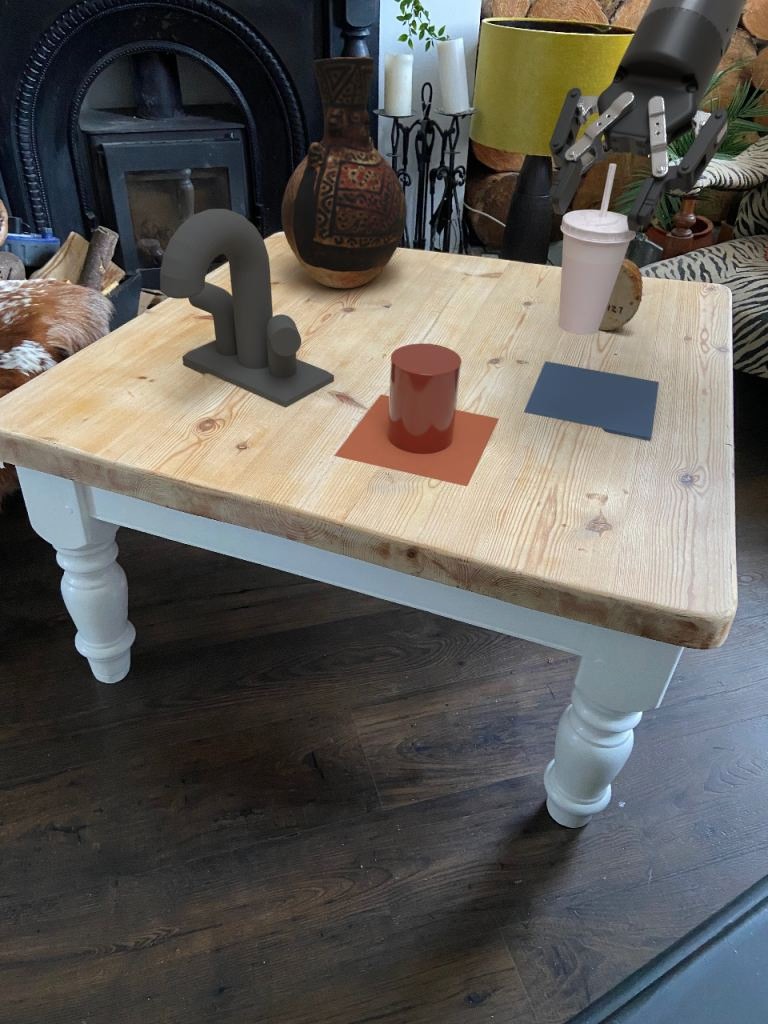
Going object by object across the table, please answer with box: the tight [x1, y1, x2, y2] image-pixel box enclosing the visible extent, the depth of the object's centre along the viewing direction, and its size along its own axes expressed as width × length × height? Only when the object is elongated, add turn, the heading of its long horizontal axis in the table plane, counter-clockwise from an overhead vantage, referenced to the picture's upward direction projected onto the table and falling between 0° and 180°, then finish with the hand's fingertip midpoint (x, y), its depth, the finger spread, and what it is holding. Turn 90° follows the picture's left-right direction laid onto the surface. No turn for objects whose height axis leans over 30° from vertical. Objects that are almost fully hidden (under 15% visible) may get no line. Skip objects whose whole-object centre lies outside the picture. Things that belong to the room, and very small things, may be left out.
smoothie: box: [558, 163, 637, 336], centre depth 65 cm, size 6×6×14 cm
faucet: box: [159, 208, 335, 409], centre depth 81 cm, size 18×16×20 cm
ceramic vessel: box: [280, 56, 408, 289], centre depth 107 cm, size 21×18×30 cm
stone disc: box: [598, 257, 644, 331], centre depth 102 cm, size 10×4×10 cm, turn 54°
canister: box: [388, 343, 462, 454], centre depth 76 cm, size 7×7×9 cm
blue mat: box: [523, 360, 660, 441], centre depth 88 cm, size 14×14×1 cm
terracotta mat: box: [333, 393, 500, 487], centre depth 79 cm, size 14×14×1 cm
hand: (593, 216), depth 62 cm, fingers closed on smoothie, 6 cm apart
